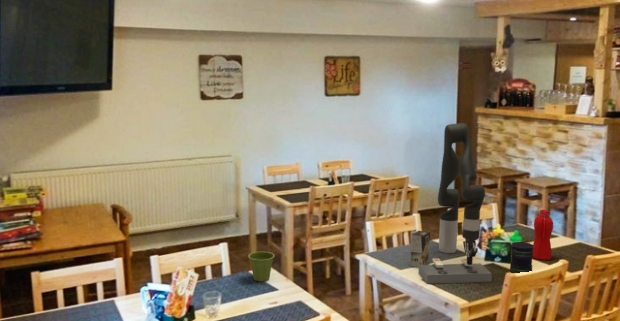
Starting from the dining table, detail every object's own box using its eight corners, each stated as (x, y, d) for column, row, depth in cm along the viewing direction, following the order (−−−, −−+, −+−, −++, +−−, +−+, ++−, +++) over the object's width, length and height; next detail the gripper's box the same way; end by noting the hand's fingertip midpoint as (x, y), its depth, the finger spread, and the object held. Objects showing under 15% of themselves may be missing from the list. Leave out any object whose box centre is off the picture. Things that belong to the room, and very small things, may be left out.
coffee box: (422, 268, 293) (423, 236, 291) (410, 266, 297) (411, 234, 294) (429, 263, 301) (430, 231, 299) (416, 261, 304) (418, 230, 302)
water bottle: (532, 260, 306) (535, 212, 303) (531, 254, 317) (534, 207, 313) (551, 262, 304) (555, 213, 300) (550, 255, 314) (553, 208, 310)
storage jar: (523, 280, 278) (525, 249, 275) (505, 274, 286) (507, 244, 283) (536, 276, 284) (538, 245, 281) (518, 270, 291) (520, 240, 289)
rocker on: (461, 261, 288) (461, 258, 288) (467, 260, 288) (467, 258, 288) (466, 265, 281) (466, 263, 281) (472, 265, 281) (472, 263, 281)
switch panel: (418, 273, 287) (418, 264, 286) (479, 271, 290) (480, 262, 289) (427, 283, 273) (427, 274, 272) (491, 281, 276) (492, 272, 275)
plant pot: (243, 279, 277) (242, 255, 276) (263, 273, 286) (262, 249, 284) (259, 285, 269) (259, 261, 267) (279, 279, 277) (279, 255, 275)
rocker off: (432, 260, 287) (432, 258, 286) (438, 260, 287) (438, 258, 286) (436, 267, 280) (436, 265, 279) (443, 267, 280) (443, 264, 280)
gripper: (458, 224, 285) (456, 260, 287) (468, 231, 272) (466, 269, 274) (473, 224, 285) (472, 259, 288) (484, 231, 272) (482, 268, 275)
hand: (469, 264), depth 281 cm, fingers closed
